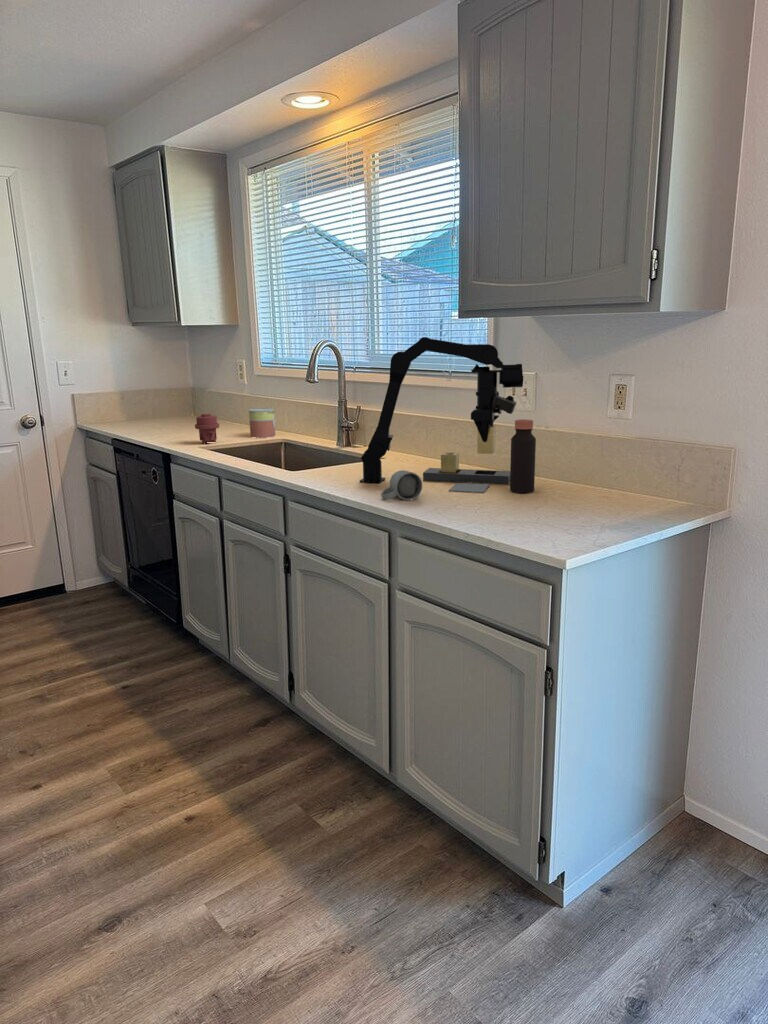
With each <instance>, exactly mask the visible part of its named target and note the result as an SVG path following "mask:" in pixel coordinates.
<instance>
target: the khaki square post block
mask: <svg viewBox="0 0 768 1024" xmlns="http://www.w3.org/2000/svg"><path fill="white" fill-rule="evenodd" d="M440 468H441V473H459V469H460V452H450V451H447V452H446V451H444V452H443V453H441V454H440Z"/></svg>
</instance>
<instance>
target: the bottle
mask: <svg viewBox="0 0 768 1024" xmlns="http://www.w3.org/2000/svg"><path fill="white" fill-rule="evenodd" d="M533 428H534V420H533V419H516V420H514V430H515V434H513V436H512V437H511V438H510V465H509V466H510V467H509V468H510V469H509V471H510V483H509V491H510V492H511V491H512V493H514V492H518V493H517V494H529V493H528V492H531V493H533V492H534V491H535V482H536V481H535V480H536V479H535V477H536V448H537V447H536V446H537V439H536V437H535V436H534V435H533V433H532V431H533Z"/></svg>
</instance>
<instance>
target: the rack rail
mask: <svg viewBox="0 0 768 1024" xmlns="http://www.w3.org/2000/svg"><path fill="white" fill-rule="evenodd" d="M425 480H426V481H425ZM423 481H424V482H441V481H449V482H448V483H463V482H470V483H469V484H485V483H494V484H493V485H507V484H508V483H509V482H510V470H494V469H493V470H492V469H471V468H470V469H466V468H459V473H441V467H439V468H438V467H429V468H427V469H426V470H424V471H423V472H422V482H423ZM471 482H472V483H471ZM509 484H510V483H509ZM509 484H508V485H509Z"/></svg>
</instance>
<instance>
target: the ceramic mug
mask: <svg viewBox="0 0 768 1024" xmlns="http://www.w3.org/2000/svg"><path fill="white" fill-rule="evenodd" d="M422 491H423V480H422V479H421V476H419V474H417V473H415V472H413V471H409V470H405V469H402V470H398V471H396V472H394V473H393V474H392V475H391V477H390V479H389V487H387V488H385V489H384V490H383V491H381V493H380V496H381V498H382V500H384V499H386V500H385V501H387V500H390V499H393V498H395V497H398V498H399V499H402V500H404V501H412V500H411V499H413V500H415V499H417V498H418V497H419V496H420V495H421V493H422Z"/></svg>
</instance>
